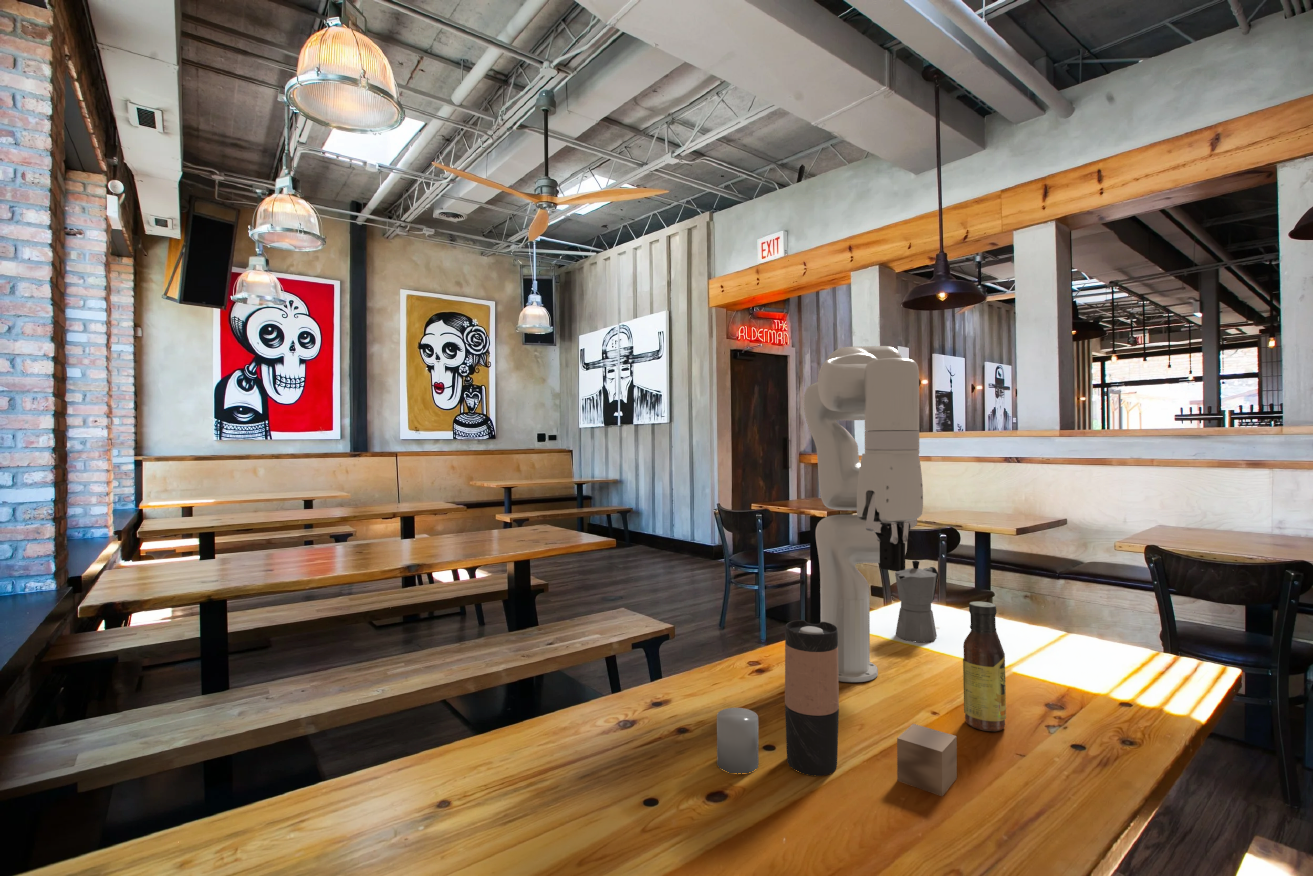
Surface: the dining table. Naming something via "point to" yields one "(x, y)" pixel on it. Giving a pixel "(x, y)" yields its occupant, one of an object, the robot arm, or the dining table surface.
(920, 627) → the coffeepot
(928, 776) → the grey cube
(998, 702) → the sauce bottle
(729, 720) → the grey rounded cylinder
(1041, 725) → the dining table surface
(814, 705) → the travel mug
